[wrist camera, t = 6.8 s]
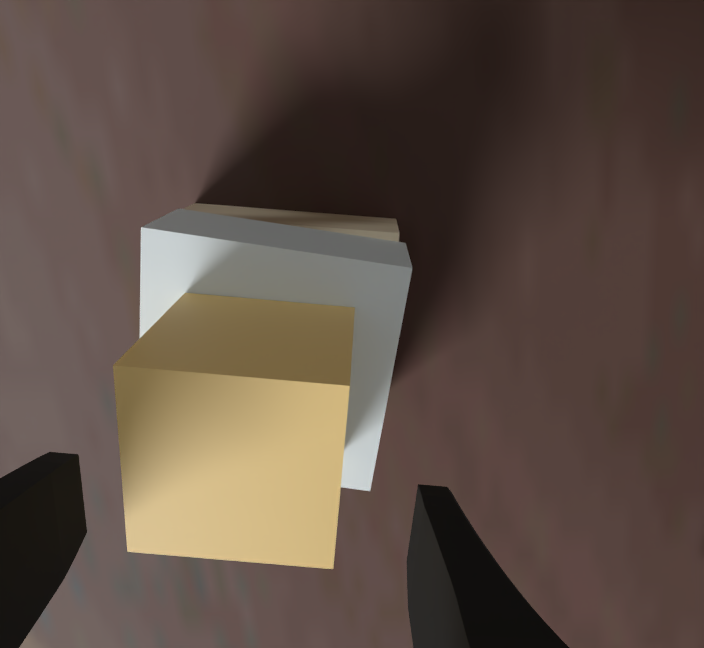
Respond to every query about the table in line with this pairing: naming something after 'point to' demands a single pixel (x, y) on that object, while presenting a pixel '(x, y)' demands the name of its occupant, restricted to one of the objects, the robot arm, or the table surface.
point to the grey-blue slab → (291, 296)
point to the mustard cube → (236, 430)
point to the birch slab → (311, 220)
